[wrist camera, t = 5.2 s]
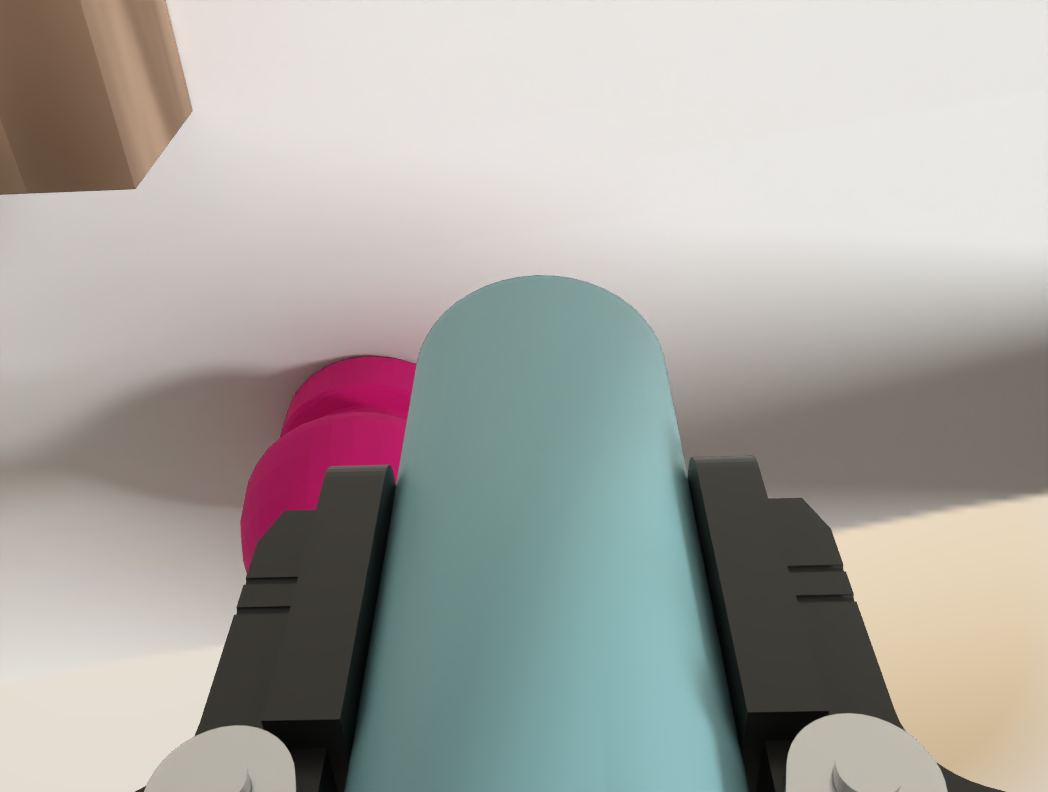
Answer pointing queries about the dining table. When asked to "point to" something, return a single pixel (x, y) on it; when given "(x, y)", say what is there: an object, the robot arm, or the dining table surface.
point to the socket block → (86, 93)
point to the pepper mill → (329, 438)
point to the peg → (543, 566)
